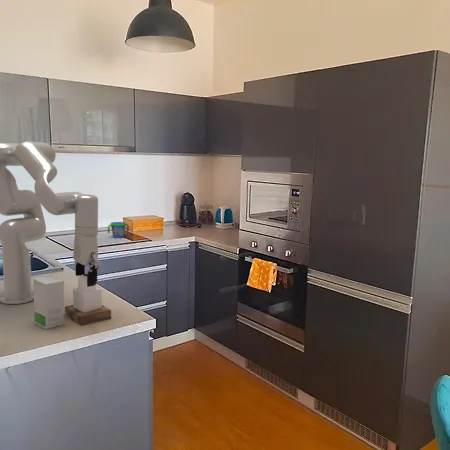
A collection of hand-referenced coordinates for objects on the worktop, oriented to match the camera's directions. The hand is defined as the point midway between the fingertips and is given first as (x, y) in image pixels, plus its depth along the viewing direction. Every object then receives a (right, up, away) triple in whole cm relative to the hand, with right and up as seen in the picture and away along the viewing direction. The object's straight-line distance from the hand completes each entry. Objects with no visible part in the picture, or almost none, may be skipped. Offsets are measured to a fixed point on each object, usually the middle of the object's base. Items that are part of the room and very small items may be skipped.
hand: (86, 278), depth 150 cm
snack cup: (-26, +10, +151) cm, 154 cm away
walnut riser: (0, -14, +2) cm, 14 cm away
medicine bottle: (0, -11, +1) cm, 11 cm away
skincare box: (-10, -15, -6) cm, 19 cm away
